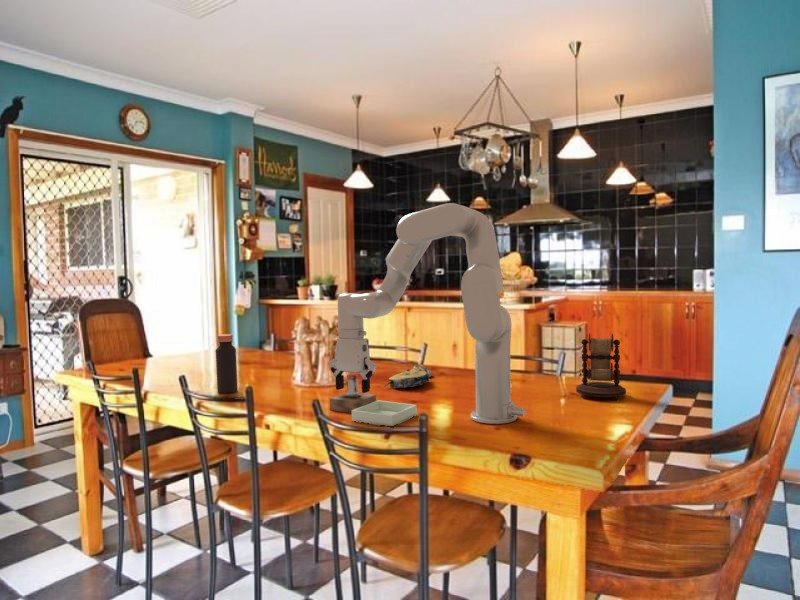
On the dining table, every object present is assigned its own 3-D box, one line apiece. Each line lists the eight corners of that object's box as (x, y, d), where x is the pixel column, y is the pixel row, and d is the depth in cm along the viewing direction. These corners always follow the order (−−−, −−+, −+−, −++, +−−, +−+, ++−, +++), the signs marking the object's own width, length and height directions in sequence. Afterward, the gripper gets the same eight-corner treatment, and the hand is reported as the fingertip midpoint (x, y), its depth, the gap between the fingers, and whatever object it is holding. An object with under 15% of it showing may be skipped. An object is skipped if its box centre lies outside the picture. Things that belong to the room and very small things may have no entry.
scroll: (624, 392, 184) (624, 330, 183) (627, 403, 170) (627, 336, 169) (576, 390, 189) (576, 330, 188) (576, 400, 175) (575, 335, 174)
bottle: (231, 394, 196) (229, 336, 195) (213, 393, 197) (211, 336, 196) (241, 389, 203) (238, 333, 201) (223, 389, 204) (221, 333, 203)
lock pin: (360, 407, 173) (359, 374, 172) (354, 409, 170) (353, 376, 170) (352, 406, 175) (351, 373, 174) (345, 408, 172) (344, 375, 171)
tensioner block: (376, 406, 174) (375, 394, 174) (356, 413, 165) (356, 401, 165) (350, 402, 179) (349, 391, 179) (329, 409, 171) (329, 398, 171)
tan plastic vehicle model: (443, 359, 219) (416, 374, 191) (445, 374, 219) (419, 391, 191) (409, 363, 224) (378, 378, 196) (411, 378, 224) (381, 395, 196)
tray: (416, 415, 162) (416, 405, 162) (391, 427, 151) (391, 416, 151) (378, 410, 169) (378, 400, 169) (351, 421, 158) (351, 410, 157)
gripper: (382, 334, 170) (383, 390, 171) (336, 331, 179) (337, 385, 180) (367, 337, 163) (369, 396, 164) (320, 334, 172) (322, 390, 173)
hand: (352, 390), depth 172 cm, fingers open, 9 cm apart
